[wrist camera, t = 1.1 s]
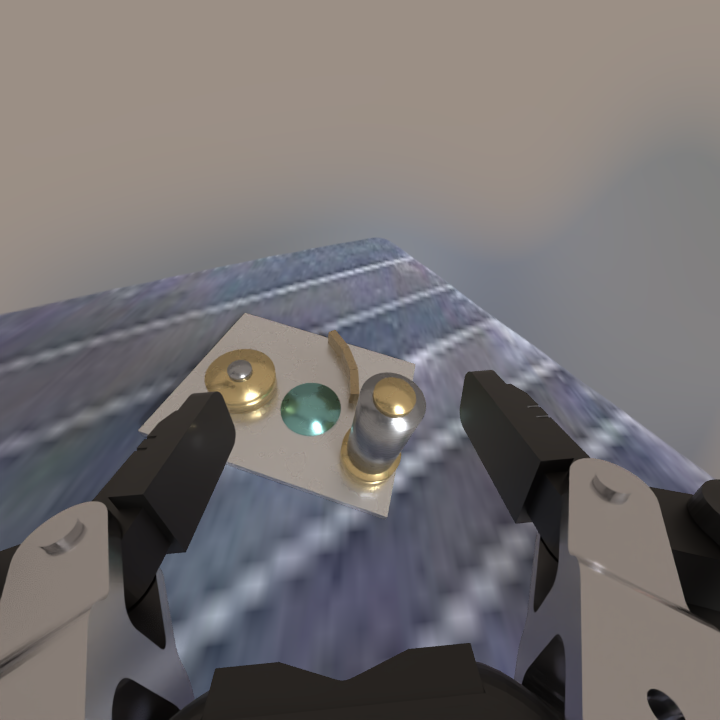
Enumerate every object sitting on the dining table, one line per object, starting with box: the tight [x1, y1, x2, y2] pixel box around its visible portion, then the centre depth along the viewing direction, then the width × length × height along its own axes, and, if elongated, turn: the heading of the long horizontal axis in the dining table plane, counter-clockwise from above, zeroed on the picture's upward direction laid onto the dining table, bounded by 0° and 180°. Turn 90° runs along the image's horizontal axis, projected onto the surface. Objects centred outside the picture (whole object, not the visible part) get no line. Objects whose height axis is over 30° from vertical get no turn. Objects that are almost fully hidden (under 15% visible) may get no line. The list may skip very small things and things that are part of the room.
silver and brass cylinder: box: [340, 372, 426, 487], centre depth 23 cm, size 6×6×12 cm
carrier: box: [138, 313, 415, 520], centre depth 31 cm, size 25×19×4 cm
